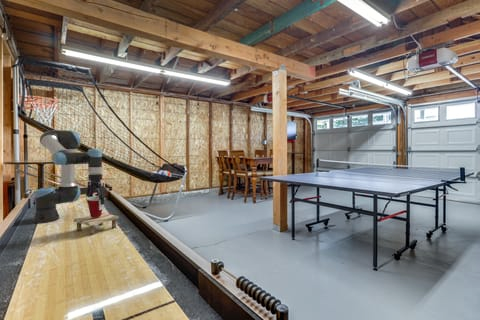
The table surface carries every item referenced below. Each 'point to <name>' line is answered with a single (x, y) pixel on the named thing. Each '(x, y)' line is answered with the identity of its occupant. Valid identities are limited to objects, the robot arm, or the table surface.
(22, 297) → the table surface
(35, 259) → the table surface
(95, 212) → the plastic cup
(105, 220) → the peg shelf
